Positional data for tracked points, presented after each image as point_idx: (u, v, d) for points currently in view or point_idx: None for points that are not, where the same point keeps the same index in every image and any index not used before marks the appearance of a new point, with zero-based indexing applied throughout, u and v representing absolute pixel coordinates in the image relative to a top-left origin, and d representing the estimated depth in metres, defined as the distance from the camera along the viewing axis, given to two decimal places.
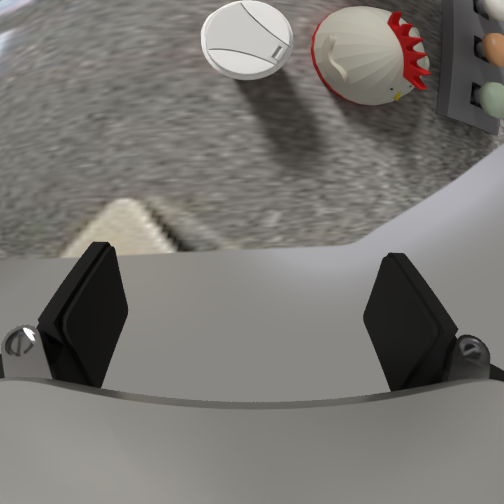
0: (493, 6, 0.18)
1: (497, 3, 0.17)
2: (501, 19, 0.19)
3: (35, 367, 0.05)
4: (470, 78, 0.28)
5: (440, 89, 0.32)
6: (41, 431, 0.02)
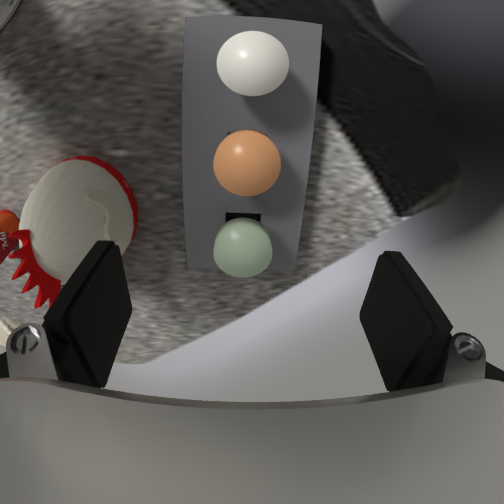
0: (225, 80, 0.19)
1: (242, 65, 0.18)
2: (254, 95, 0.20)
3: (40, 365, 0.05)
4: (221, 208, 0.29)
5: None
6: (41, 431, 0.02)
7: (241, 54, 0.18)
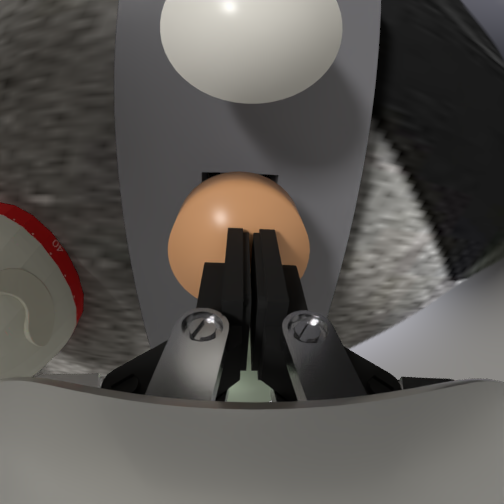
0: (182, 64, 0.07)
1: (224, 25, 0.06)
2: None
3: (203, 362, 0.06)
4: None
5: None
6: (41, 431, 0.02)
7: (222, 0, 0.06)
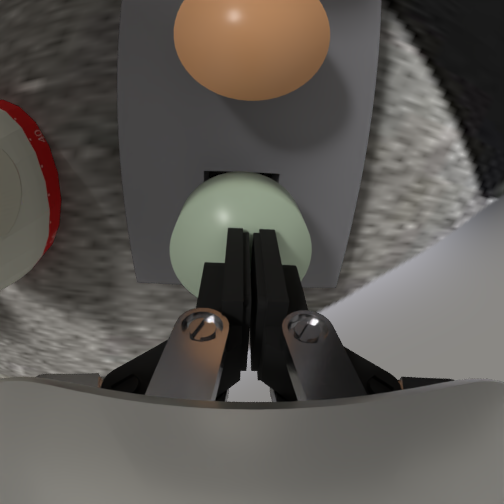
0: None
1: None
2: None
3: (203, 362, 0.06)
4: (195, 163, 0.14)
5: None
6: (41, 431, 0.02)
7: None
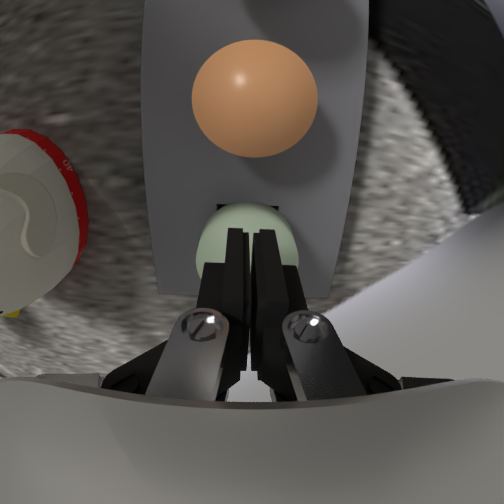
0: None
1: None
2: None
3: (203, 362, 0.06)
4: (209, 197, 0.17)
5: None
6: (41, 431, 0.02)
7: None
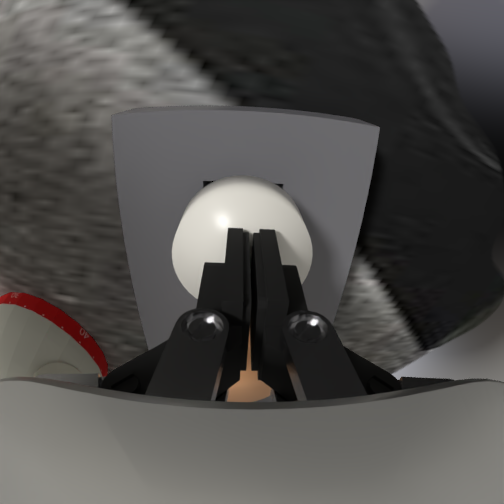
0: (193, 289, 0.12)
1: None
2: None
3: (203, 362, 0.06)
4: None
5: None
6: (41, 431, 0.02)
7: (218, 244, 0.11)
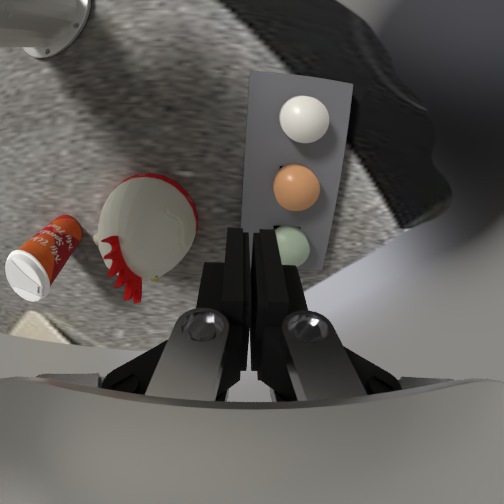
0: (286, 130, 0.30)
1: (298, 120, 0.29)
2: None
3: (203, 362, 0.06)
4: (271, 222, 0.39)
5: None
6: (41, 431, 0.02)
7: (297, 113, 0.28)
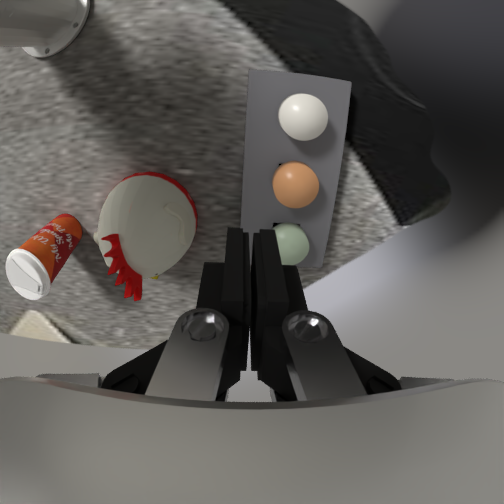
0: (285, 128, 0.30)
1: (297, 118, 0.29)
2: None
3: (203, 362, 0.06)
4: (270, 219, 0.39)
5: None
6: (41, 431, 0.02)
7: (296, 110, 0.29)
